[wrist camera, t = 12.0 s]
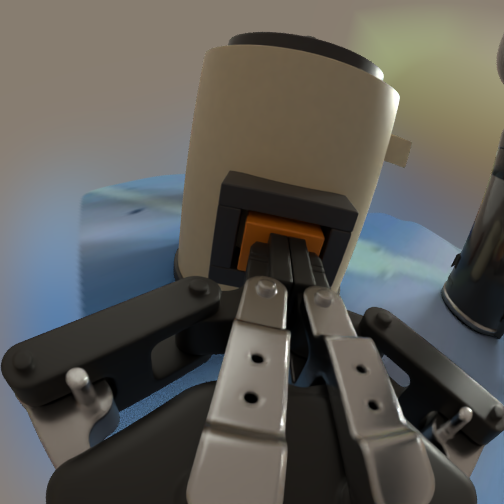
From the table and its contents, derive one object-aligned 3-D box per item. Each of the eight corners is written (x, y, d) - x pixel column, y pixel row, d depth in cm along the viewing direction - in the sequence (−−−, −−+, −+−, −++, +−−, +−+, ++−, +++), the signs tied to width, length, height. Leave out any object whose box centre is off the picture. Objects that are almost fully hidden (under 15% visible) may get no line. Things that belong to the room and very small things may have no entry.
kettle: (204, 211, 33) (231, 50, 24) (330, 236, 33) (372, 84, 24) (139, 328, 16) (172, -27, 7) (376, 366, 16) (493, 72, 7)
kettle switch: (241, 245, 15) (249, 202, 14) (304, 258, 15) (317, 217, 14) (236, 270, 13) (245, 221, 12) (309, 284, 13) (325, 237, 12)
